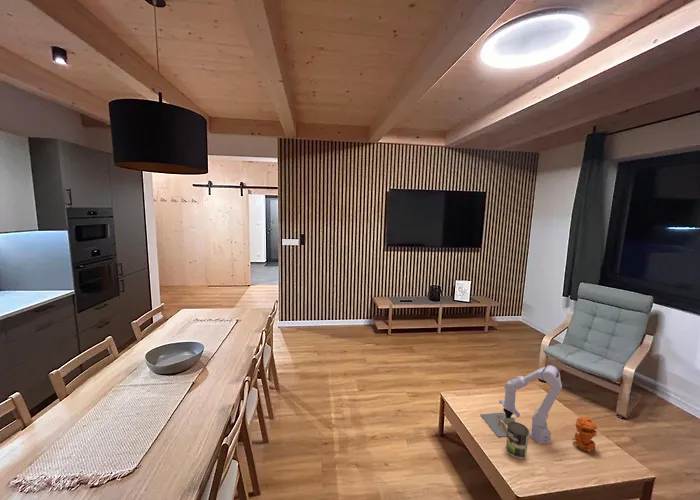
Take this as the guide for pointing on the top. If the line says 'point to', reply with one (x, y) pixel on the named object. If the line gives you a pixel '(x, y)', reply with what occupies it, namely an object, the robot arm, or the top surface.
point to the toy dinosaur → (585, 433)
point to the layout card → (495, 423)
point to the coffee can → (517, 440)
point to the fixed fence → (503, 424)
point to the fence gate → (508, 420)
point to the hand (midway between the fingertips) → (508, 420)
